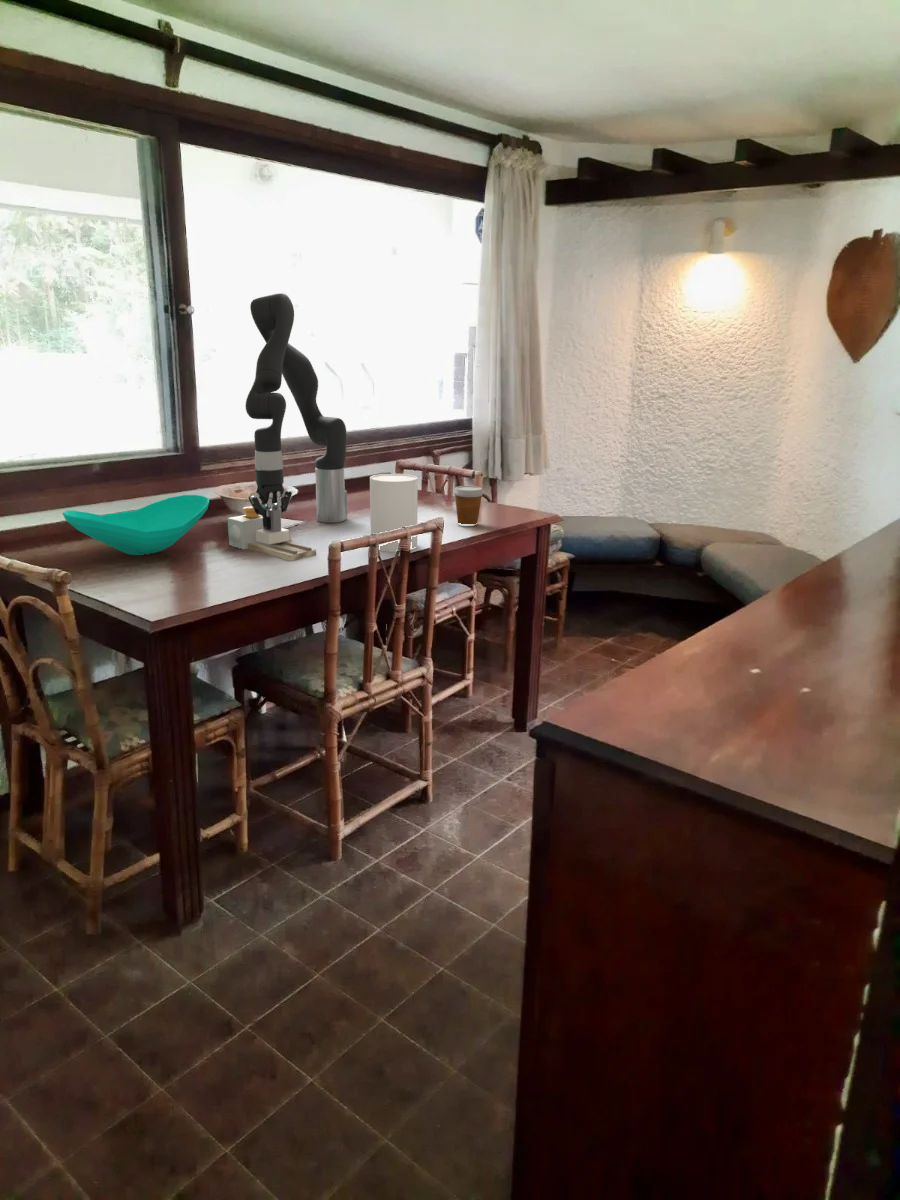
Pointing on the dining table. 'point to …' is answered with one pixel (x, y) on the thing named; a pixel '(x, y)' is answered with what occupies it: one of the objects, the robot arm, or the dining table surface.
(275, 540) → the carriage
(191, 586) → the dining table surface
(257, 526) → the end cabinet
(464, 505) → the disposable coffee cup
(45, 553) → the dining table surface
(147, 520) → the table top decor
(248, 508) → the button
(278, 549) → the rail track
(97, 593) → the dining table surface
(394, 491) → the canister
